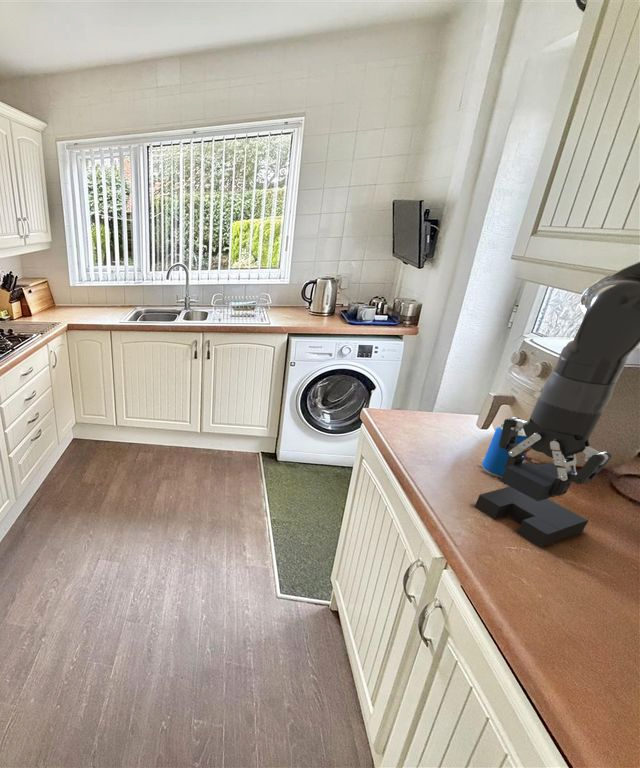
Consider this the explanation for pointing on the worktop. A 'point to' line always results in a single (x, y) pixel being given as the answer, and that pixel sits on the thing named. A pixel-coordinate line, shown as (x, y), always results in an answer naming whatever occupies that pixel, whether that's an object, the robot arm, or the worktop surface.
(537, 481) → the pad
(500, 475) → the beverage can
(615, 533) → the worktop surface
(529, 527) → the base pad
